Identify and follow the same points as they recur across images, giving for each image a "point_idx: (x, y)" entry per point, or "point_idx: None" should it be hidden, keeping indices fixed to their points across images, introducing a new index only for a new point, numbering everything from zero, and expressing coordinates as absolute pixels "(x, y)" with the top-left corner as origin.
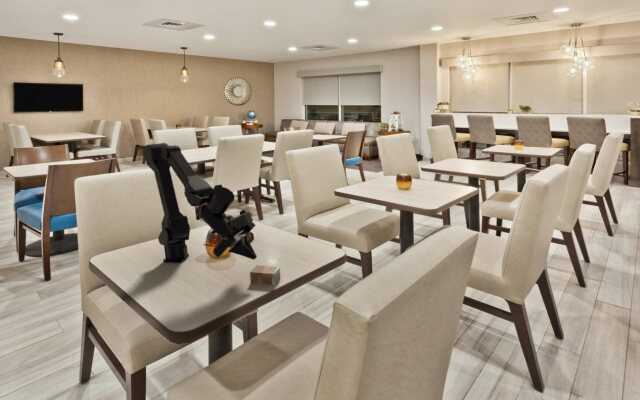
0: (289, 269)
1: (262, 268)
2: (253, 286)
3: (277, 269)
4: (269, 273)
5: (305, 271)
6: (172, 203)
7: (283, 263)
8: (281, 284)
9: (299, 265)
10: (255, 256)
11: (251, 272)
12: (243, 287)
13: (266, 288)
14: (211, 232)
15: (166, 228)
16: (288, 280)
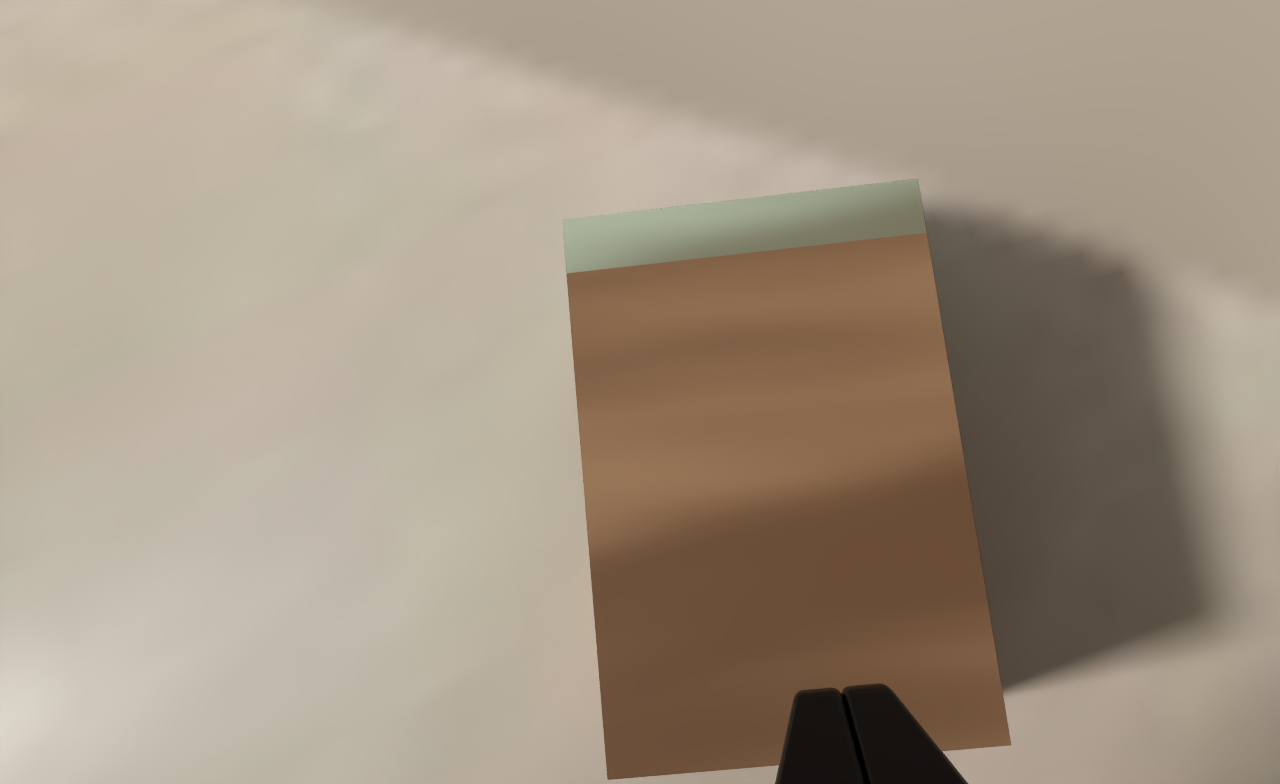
0: (244, 289)
1: (739, 547)
2: (1062, 584)
3: (691, 212)
4: (930, 278)
5: (270, 19)
6: None
7: (11, 501)
8: (827, 167)
9: (57, 199)
10: (883, 703)
11: (1002, 704)
12: (1169, 749)
13: (1047, 330)
14: None
15: None
16: (656, 127)
